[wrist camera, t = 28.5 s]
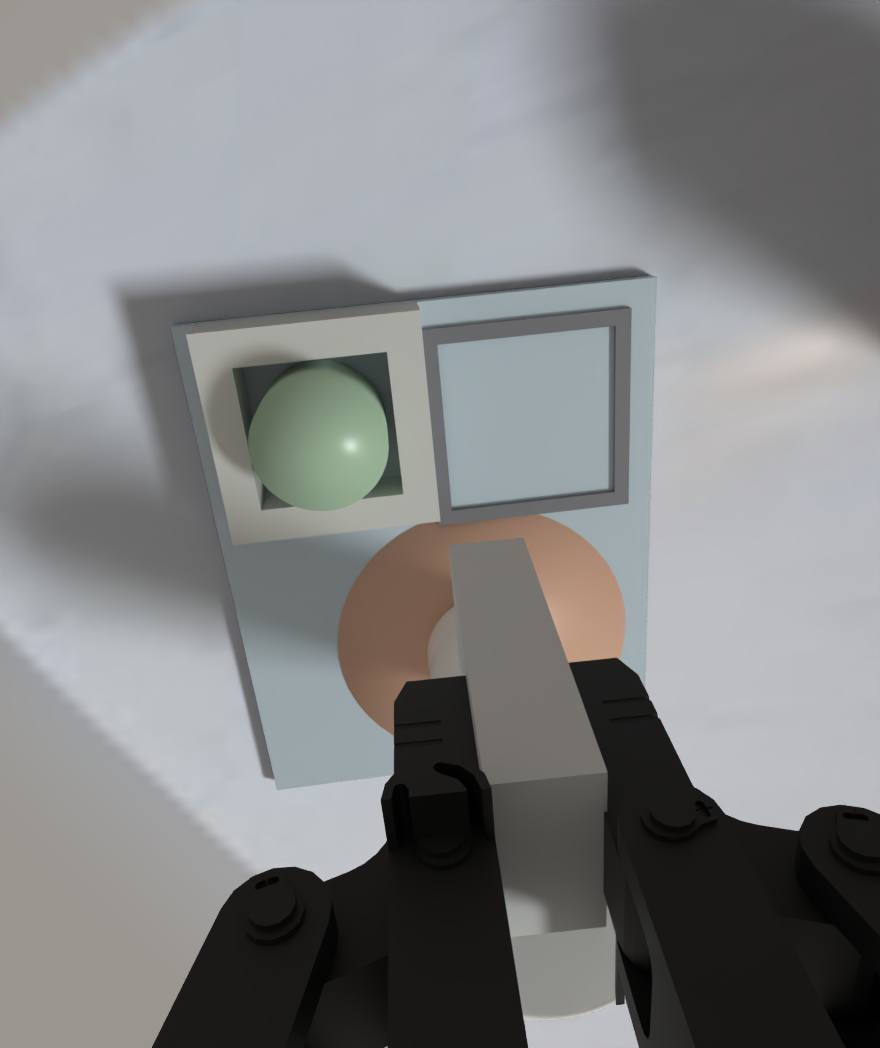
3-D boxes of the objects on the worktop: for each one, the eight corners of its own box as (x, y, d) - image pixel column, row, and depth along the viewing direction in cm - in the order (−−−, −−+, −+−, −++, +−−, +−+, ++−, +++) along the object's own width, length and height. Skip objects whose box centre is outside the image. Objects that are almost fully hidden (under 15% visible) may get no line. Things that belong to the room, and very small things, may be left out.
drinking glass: (391, 685, 35) (401, 1008, 21) (438, 557, 32) (485, 828, 19) (528, 717, 36) (622, 1039, 22) (583, 596, 34) (726, 875, 20)
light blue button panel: (651, 275, 29) (658, 277, 28) (639, 734, 38) (644, 744, 37) (174, 324, 28) (168, 328, 27) (278, 780, 37) (276, 792, 37)
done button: (378, 352, 28) (380, 371, 25) (393, 474, 30) (396, 503, 27) (248, 366, 28) (235, 386, 25) (271, 487, 30) (262, 518, 27)
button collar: (416, 301, 28) (419, 310, 26) (436, 501, 31) (440, 521, 29) (198, 324, 28) (185, 334, 26) (241, 524, 31) (233, 545, 29)
